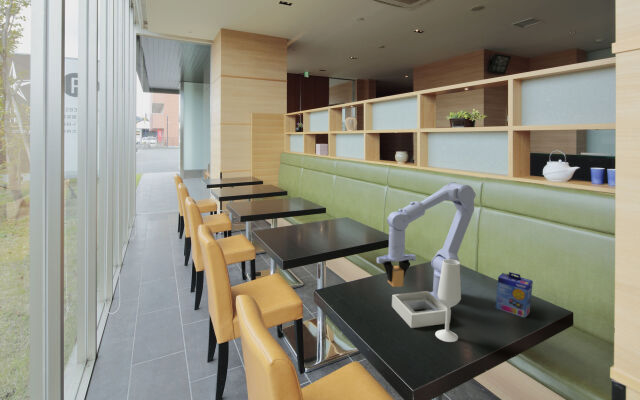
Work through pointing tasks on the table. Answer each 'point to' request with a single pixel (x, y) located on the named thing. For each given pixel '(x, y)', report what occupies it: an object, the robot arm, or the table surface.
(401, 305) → the walled box
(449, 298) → the champagne flute
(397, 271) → the light brown rectangular block
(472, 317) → the table surface
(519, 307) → the ink cartridge box
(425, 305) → the inlet socket
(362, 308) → the table surface
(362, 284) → the table surface
